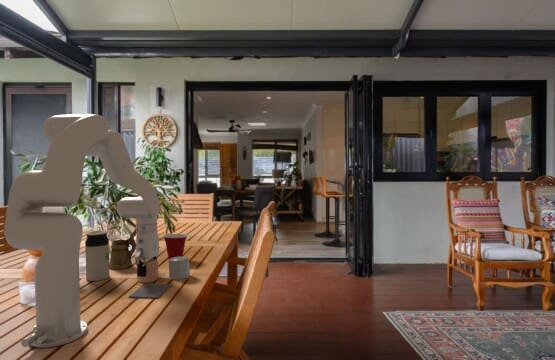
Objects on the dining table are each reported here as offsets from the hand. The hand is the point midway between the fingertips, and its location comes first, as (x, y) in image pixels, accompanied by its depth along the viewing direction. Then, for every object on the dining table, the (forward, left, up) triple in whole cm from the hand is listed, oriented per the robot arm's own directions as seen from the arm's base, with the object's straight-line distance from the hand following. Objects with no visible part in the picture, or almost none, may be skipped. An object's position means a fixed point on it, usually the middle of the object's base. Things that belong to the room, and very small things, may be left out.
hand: (147, 272), depth 129 cm
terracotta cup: (0, 0, -3) cm, 3 cm away
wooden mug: (+15, +17, -3) cm, 23 cm away
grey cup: (+4, -11, -3) cm, 12 cm away
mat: (-12, -7, -3) cm, 14 cm away
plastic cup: (+26, -1, -3) cm, 26 cm away
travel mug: (0, +20, -3) cm, 20 cm away
